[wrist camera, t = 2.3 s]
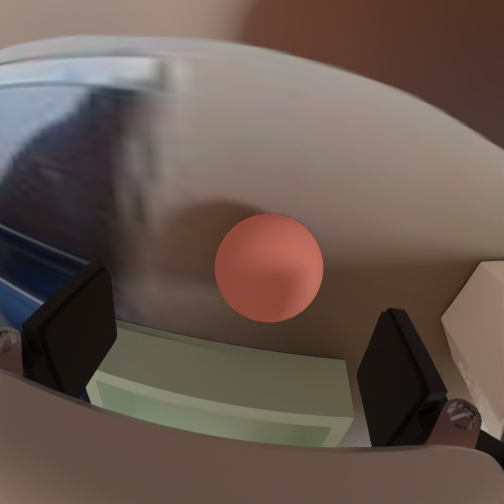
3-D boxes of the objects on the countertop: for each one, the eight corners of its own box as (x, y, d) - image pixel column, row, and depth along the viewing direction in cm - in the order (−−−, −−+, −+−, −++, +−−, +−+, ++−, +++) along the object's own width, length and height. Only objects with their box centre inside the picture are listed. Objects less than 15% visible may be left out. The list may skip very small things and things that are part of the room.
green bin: (344, 359, 19) (354, 417, 15) (293, 469, 26) (291, 510, 21) (113, 318, 20) (78, 363, 16) (138, 439, 26) (122, 476, 22)
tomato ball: (326, 210, 16) (342, 246, 11) (308, 295, 18) (313, 351, 13) (230, 195, 16) (206, 225, 11) (222, 281, 18) (200, 333, 13)
